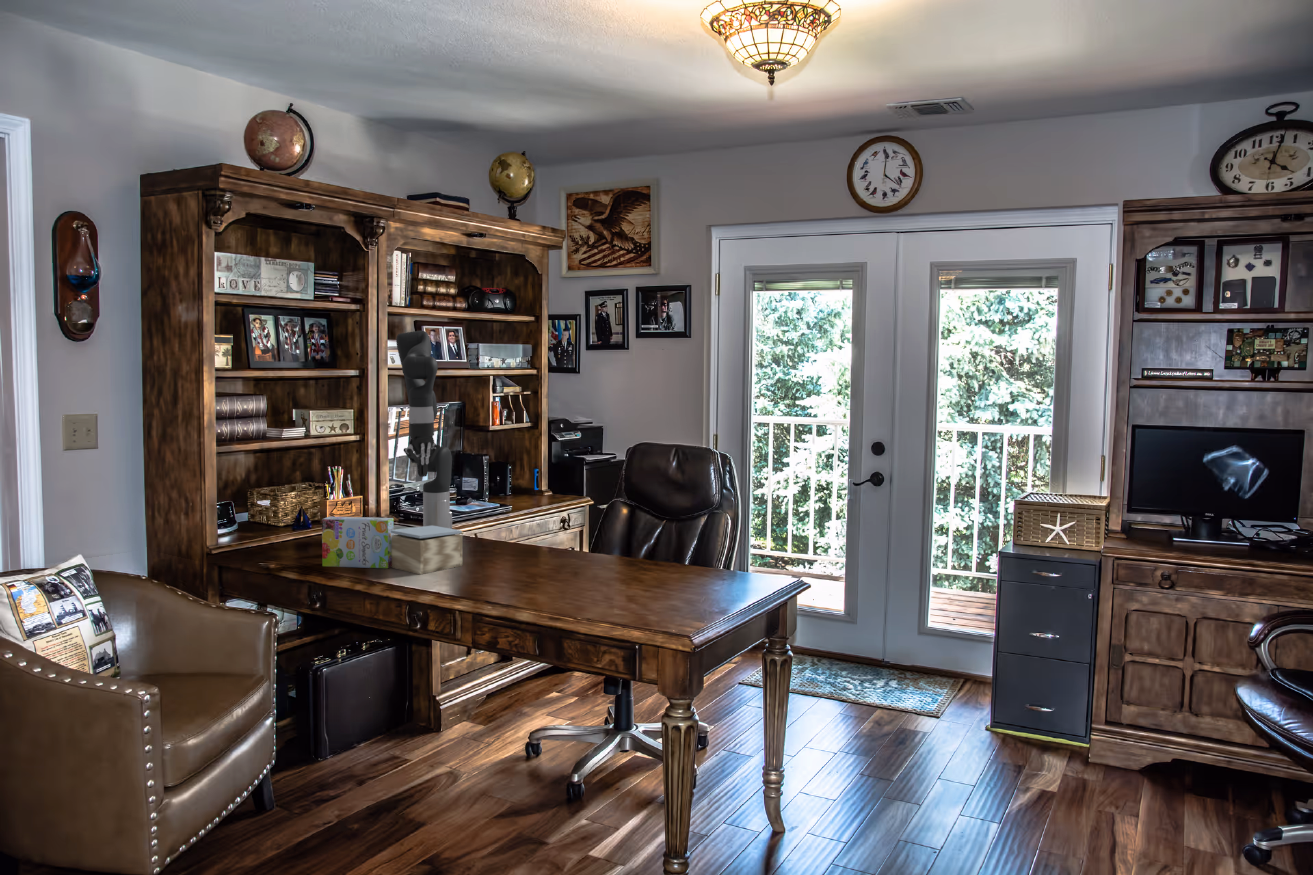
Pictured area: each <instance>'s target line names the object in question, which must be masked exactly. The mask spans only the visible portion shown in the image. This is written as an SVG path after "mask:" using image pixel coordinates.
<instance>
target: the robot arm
mask: <svg viewBox="0 0 1313 875" xmlns="http://www.w3.org/2000/svg"><path fill="white" fill-rule="evenodd" d="M395 339H396V341H395V343H396V348H397V352H398V356H399V361H400V364H401V368H402V369H401V370H402V375H403V377H404V382H405V387H406V394H407V399H408V400H407V401H408V405H409V407H408V408H409V410H408V432H409V433H408V434H409V435H408V436H409V438H410V440H409V445H408V446H407V447H404V448H403V452H404V454H405V455H406V456H407V458H408V459H409V460H410V462H411V463H412V464H416V466H417V475H418V476H419V477H422V478H423V477H427V476H428V474H429V473H435V477H434V479H432V480H430V481H427V482H425V483H423V485H422V498H423V499H422V500H423V501H422V505H423V506H422V509H423V510H422V511H423V512H422V514H423V516H422V518H423V520H422V521H423V522H422V525H423V526H432V525H433V526H439V527H444V528H450V529H453V513H452V511H451V508H450V506H451V502H450V500H451V499H450V498H451V496H450V495H451V494H450V492H451V491H450V490H451V488H450V487H451V482H452V468H453V467H452V466H453V459H452V458H453V456H452V452H451V449H450V448H449V447H447V446H441V445H440V444H436V443H435V439H434V436H435V420H436V418H437V417H438V416H437V415H438V410H439V409H438V403H437V397H436V393H435V391H434V384H435V380H436V377H437V373H438V370H439V366H438V362H437V360H436V358H434V356H431V355H432V343H431V338H430V335H429V334H428V332H427V331H426V330H416V331H415V330H414V331H408V332H402V333H399V334H397V335H396V338H395ZM423 526H422V527H423Z"/></svg>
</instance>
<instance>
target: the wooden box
mask: <svg viewBox="0 0 1313 875" xmlns="http://www.w3.org/2000/svg"><path fill="white" fill-rule="evenodd" d="M391 540H392V566H391V568H392V569H395V570H396V569H397V570H400V571H404V572H407V573H413V574H417V575H424V574H425V575H426V574H429V573H435V572H440V571H444V569H445V570H450V569H453V568H454V567H455V568H460V567H463V566H464V565H463V535H462V534H452V535H444V536H436V537H428V538H415V537H409V536H404V535H399V534H394V535H392V536H391Z"/></svg>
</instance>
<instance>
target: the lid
mask: <svg viewBox="0 0 1313 875" xmlns="http://www.w3.org/2000/svg"><path fill="white" fill-rule="evenodd" d="M391 533H394V535H398V534H399V535H404V536H409V537H415V538H428V537H436V536H444V535H452V534H460V535H461V536H463V535H464V531H462V530H460V529H454V528H452V529H450V528H444V527H439V526H433V525H432V526H417V527H416V526H415V527H408V528H406V527H405V528H399V529H397V528H396V529H394V530H391Z"/></svg>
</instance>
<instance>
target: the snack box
mask: <svg viewBox="0 0 1313 875" xmlns="http://www.w3.org/2000/svg"><path fill="white" fill-rule="evenodd" d="M394 520H395V519H394V517H368V516H367V517H365V516H364V517H363V516H360V517H359V516H354V517H353V516H327V517H325V518H322V519H321V546H322V547H321V551H322V552H321V555H322V557H321V558H322V560H321V561H322V562H321V563H322V565H321V566H322V567H330V568H331V567H334V568H335V567H336V568H337V567H338V568H359V569H360V568H365V569H366V568H367V569H368V568H369V569H388V568H392V540H391V536H392V535H395V534H394V533H391V530H395V528H394V527H395V526H394V525H395V524H394Z"/></svg>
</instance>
